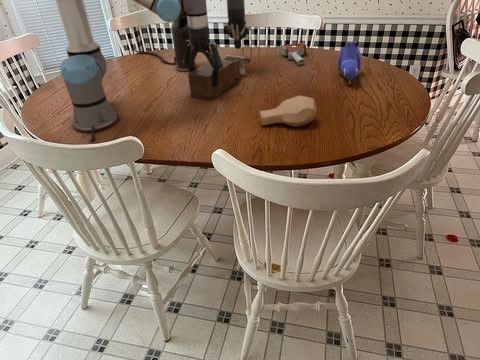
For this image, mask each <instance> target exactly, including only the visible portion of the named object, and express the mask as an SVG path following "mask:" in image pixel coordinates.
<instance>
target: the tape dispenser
mask: <svg viewBox="0 0 480 360" xmlns="http://www.w3.org/2000/svg"><path fill="white" fill-rule="evenodd" d="M293 46H294V47H293ZM279 48H280V49H279V50H280V54H281V55H283V57H287V58H288V60H289V61H291V60H292V61H293V60H294V61H295V63H296V64H297V66H300V65H303V64H304V63H305V58H303V57H302V56H305V55H306V53H307V44H306V43H305V42H295V43H289V44H280V46H279Z"/></svg>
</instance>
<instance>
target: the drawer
mask: <svg viewBox="0 0 480 360" xmlns="http://www.w3.org/2000/svg"><path fill="white" fill-rule="evenodd" d="M222 60H229V61H235V76H236V78H238V77H239V76H240V75H243V76H244V75H246V70H245V65H246V64H247V63H250V62H251V58H248V57H245V56H238V55H231V54H226V55H225V58H222Z"/></svg>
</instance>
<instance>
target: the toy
mask: <svg viewBox="0 0 480 360" xmlns="http://www.w3.org/2000/svg"><path fill="white" fill-rule="evenodd" d="M356 44H358V43H357V41H355V40H353V41H351V42H350V41H346V42H345V45H344V46H341V47H340V50H339V53H338V56H337V61H336V62H337V63H336V68H337V71H339V73H340V74H341V75H342V76H343V77H344V78H345V80H347V83H348V86H350V85H351V83H352V81H353V80H354V79H356V77H357V76H358V75H359V71H360V70H361V67H362V54H361V50H360V46H359V45H357V46H356Z"/></svg>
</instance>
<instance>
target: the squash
mask: <svg viewBox="0 0 480 360" xmlns="http://www.w3.org/2000/svg"><path fill="white" fill-rule="evenodd" d="M317 109H318V107H317V104H316V101H315V99H314V98H312V97H310V96H305V95H300V94H299V95H296V96H293V97H291V98H287V99H284V100H283V101H282V102H281V103H280V104H279V105H278V106H277V107H275V108H271V109H266V110H260V111H259V112H258V115H259V116H258V117H259V118H260V123H261V125H262V126H268V125H272V124H285V125H288V126H291V127H294V128H295V127H304V126H306V125H308V124H309V123H311V122H313V121H314V120H315V117H316V115H317Z"/></svg>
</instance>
